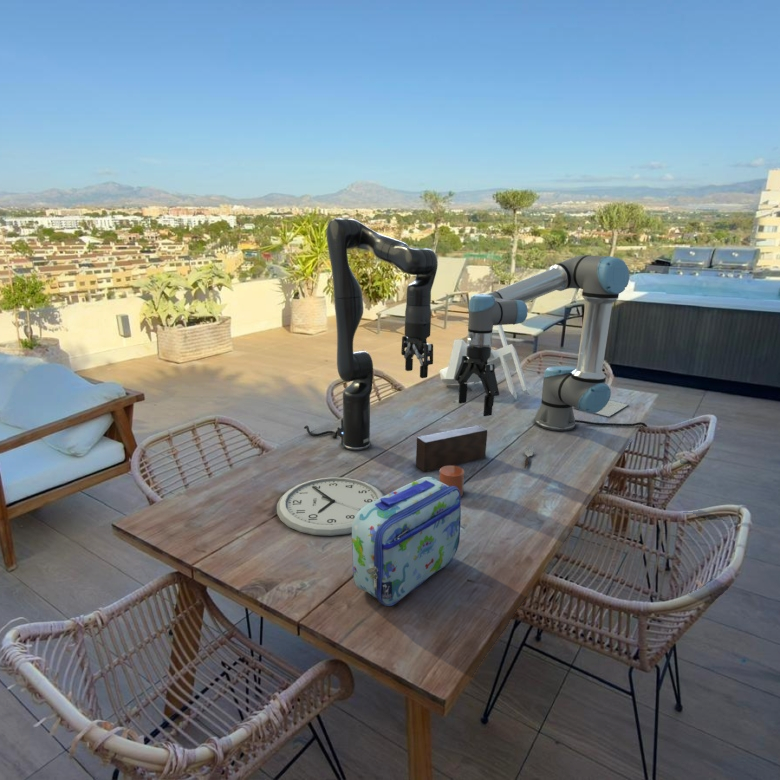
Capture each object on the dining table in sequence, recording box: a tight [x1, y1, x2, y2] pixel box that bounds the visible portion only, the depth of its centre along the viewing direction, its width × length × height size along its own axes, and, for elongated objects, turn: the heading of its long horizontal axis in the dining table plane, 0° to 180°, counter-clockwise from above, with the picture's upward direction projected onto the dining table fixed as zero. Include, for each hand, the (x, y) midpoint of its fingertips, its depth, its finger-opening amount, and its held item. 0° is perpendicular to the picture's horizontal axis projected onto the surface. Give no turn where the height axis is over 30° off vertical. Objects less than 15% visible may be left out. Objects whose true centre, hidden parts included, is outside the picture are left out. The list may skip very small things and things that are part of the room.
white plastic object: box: [438, 325, 531, 400], centre depth 245 cm, size 37×45×31 cm
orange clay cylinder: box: [438, 465, 465, 498], centre depth 150 cm, size 7×7×7 cm
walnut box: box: [415, 424, 488, 473], centre depth 169 cm, size 24×5×10 cm, turn 118°
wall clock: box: [276, 476, 385, 537], centre depth 142 cm, size 30×2×30 cm
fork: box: [524, 445, 535, 469], centre depth 172 cm, size 3×16×2 cm, turn 160°
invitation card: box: [573, 399, 629, 418], centre depth 226 cm, size 21×1×15 cm
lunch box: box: [351, 476, 462, 607], centre depth 111 cm, size 26×11×21 cm, turn 135°
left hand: (416, 374), depth 156 cm, fingers open, 8 cm apart
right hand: (474, 409), depth 170 cm, fingers open, 13 cm apart
